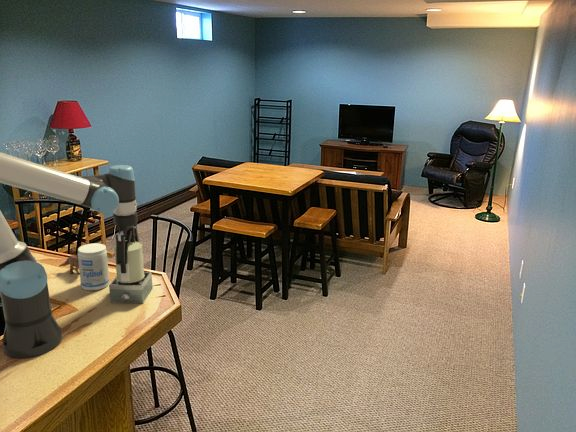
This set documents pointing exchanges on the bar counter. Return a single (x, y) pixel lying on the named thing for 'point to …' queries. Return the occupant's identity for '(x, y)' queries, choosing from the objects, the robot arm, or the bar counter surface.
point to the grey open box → (131, 290)
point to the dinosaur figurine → (72, 263)
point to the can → (132, 263)
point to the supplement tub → (93, 266)
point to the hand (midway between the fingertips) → (130, 274)
